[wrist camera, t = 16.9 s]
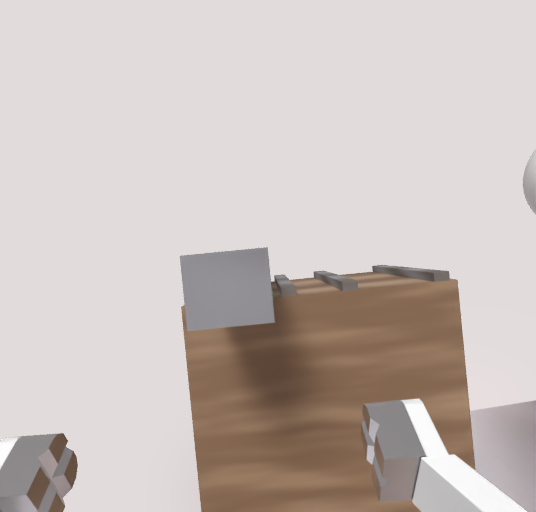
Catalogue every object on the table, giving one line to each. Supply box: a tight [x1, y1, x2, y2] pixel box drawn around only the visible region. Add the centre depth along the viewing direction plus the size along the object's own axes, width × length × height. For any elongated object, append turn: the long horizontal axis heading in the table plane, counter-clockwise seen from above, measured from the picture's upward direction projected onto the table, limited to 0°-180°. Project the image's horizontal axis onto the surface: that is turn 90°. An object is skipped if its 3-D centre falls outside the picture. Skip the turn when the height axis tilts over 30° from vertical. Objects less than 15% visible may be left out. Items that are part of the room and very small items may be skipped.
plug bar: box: [180, 248, 275, 331], centre depth 27 cm, size 23×4×3 cm, turn 1°
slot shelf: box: [181, 265, 475, 512], centre depth 32 cm, size 14×18×27 cm
